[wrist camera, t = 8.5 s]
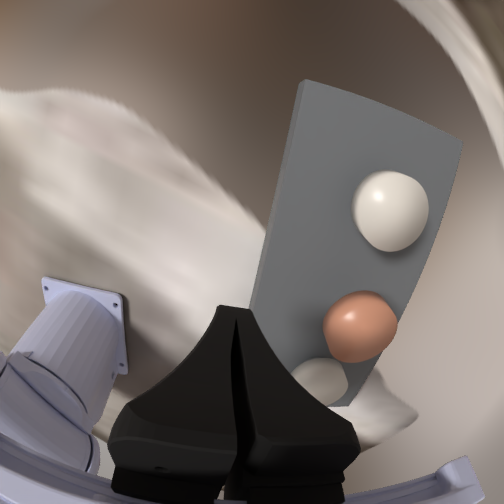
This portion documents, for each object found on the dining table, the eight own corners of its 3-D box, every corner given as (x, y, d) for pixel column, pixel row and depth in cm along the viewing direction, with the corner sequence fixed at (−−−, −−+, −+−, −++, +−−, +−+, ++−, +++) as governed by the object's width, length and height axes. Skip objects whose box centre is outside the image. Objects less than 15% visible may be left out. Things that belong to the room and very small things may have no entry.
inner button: (328, 384, 24) (335, 408, 21) (281, 382, 23) (284, 407, 21) (347, 349, 22) (357, 373, 20) (295, 346, 22) (301, 371, 19)
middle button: (366, 337, 20) (379, 363, 17) (310, 333, 19) (318, 361, 17) (390, 285, 18) (408, 308, 15) (331, 276, 17) (344, 301, 15)
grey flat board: (344, 392, 28) (348, 406, 26) (230, 386, 27) (230, 401, 25) (447, 138, 17) (463, 141, 16) (298, 83, 16) (305, 79, 14)
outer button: (394, 239, 18) (413, 257, 16) (336, 227, 18) (350, 244, 15) (414, 177, 16) (437, 187, 14) (355, 158, 16) (374, 164, 14)
